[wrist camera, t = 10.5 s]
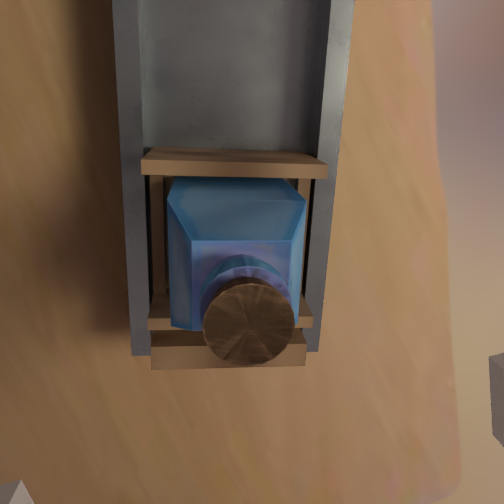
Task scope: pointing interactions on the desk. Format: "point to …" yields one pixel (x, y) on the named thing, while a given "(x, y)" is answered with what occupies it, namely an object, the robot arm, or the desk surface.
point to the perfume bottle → (236, 263)
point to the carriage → (159, 318)
